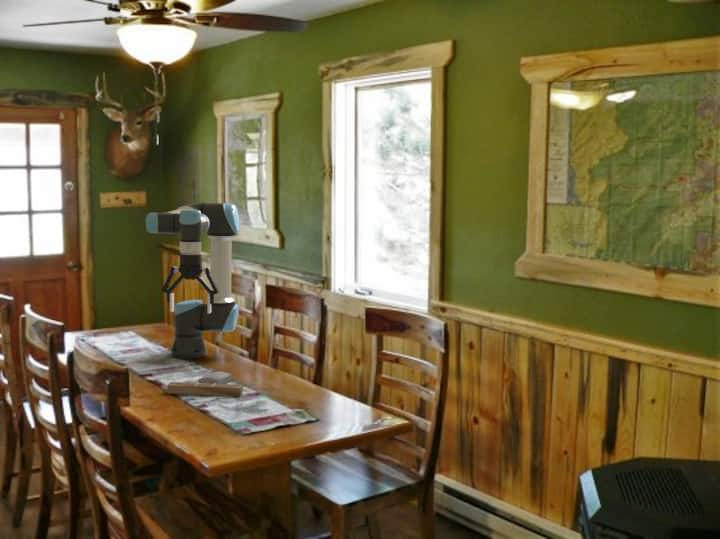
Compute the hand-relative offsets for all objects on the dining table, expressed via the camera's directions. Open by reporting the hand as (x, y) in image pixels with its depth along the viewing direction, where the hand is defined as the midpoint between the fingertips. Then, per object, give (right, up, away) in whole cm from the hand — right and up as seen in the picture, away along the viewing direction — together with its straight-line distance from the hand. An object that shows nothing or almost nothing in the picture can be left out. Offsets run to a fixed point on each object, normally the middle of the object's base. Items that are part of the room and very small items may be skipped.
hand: (190, 312), depth 281 cm
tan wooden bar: (+6, -29, -3) cm, 29 cm away
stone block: (+6, -27, +10) cm, 30 cm away
